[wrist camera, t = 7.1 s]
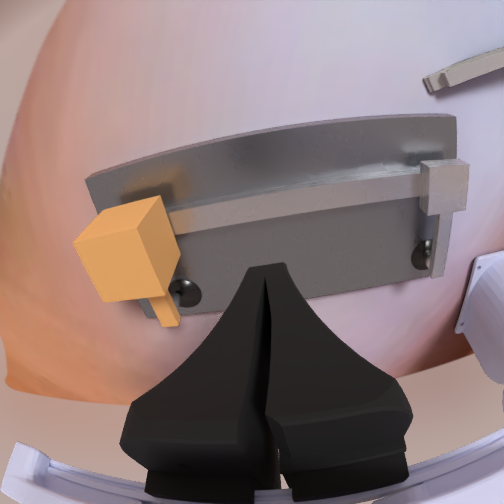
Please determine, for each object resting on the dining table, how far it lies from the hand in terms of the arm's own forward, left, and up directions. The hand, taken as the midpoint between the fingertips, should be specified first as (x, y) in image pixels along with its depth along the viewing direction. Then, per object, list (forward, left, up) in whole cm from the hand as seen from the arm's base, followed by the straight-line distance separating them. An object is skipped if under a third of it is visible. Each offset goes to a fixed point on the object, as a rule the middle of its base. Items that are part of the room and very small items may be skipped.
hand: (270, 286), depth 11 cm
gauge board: (-2, -1, -9) cm, 10 cm away
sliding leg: (-2, +8, -8) cm, 11 cm away
